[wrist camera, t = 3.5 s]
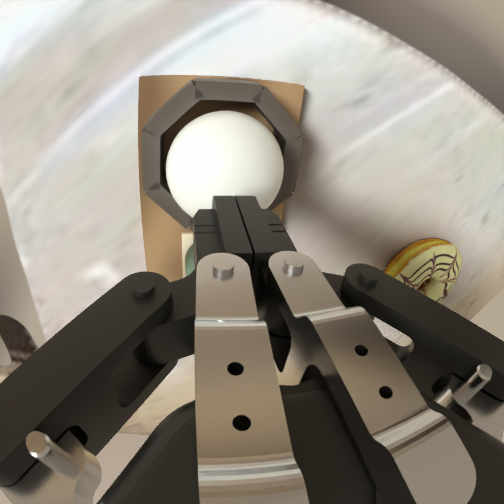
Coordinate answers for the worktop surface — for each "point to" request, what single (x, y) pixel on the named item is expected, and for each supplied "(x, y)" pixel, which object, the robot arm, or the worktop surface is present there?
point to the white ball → (223, 161)
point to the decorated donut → (427, 267)
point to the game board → (174, 120)
